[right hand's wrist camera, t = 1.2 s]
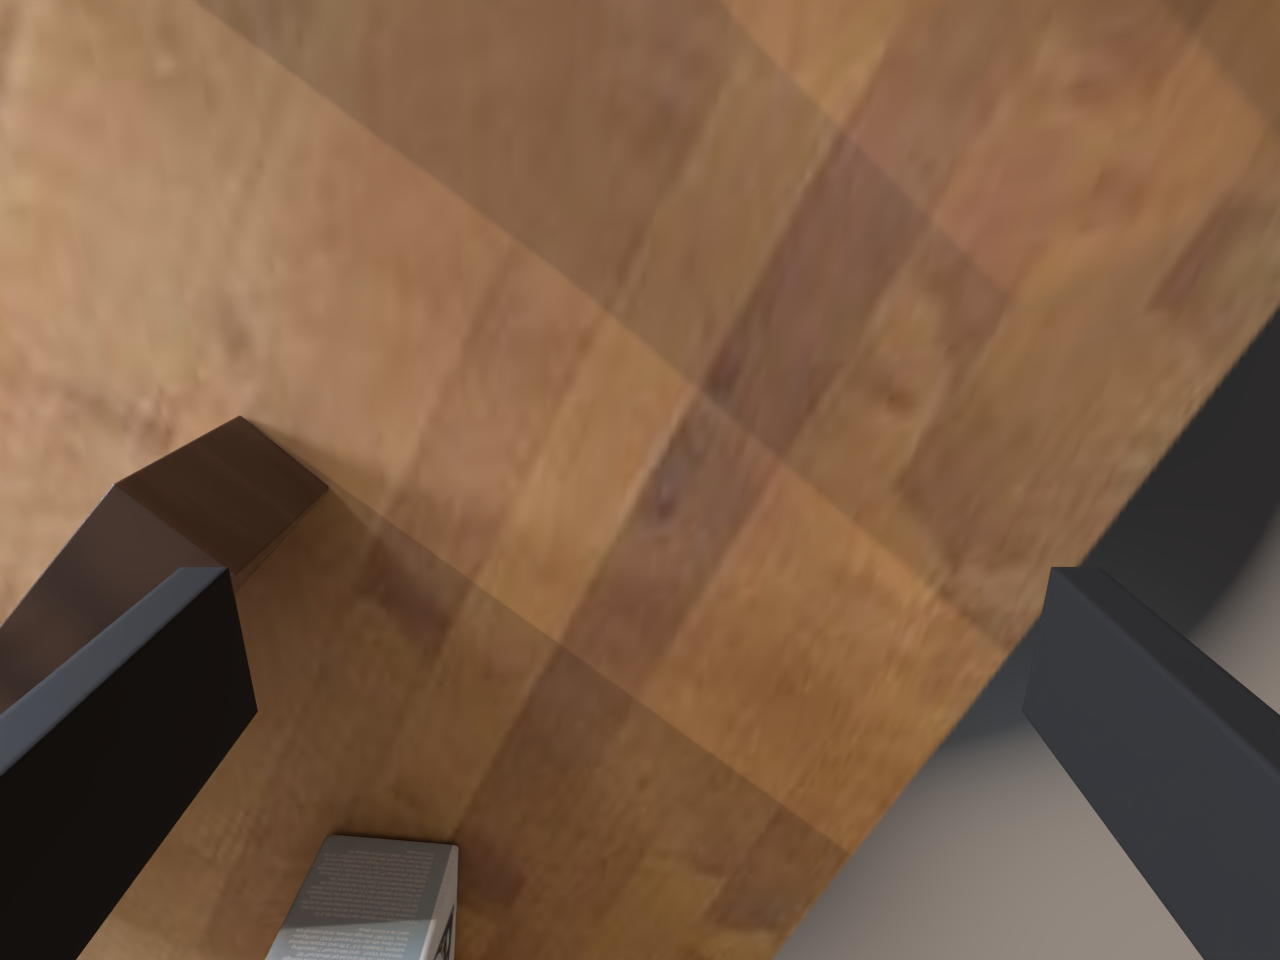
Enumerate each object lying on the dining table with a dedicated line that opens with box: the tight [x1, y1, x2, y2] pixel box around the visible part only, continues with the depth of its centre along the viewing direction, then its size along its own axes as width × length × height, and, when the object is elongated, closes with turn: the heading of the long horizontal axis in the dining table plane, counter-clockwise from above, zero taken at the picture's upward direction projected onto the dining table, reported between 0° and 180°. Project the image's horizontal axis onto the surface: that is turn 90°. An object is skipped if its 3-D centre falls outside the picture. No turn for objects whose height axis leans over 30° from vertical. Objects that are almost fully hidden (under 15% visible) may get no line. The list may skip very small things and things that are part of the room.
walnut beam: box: [0, 416, 329, 715], centre depth 35 cm, size 32×5×9 cm, turn 136°
